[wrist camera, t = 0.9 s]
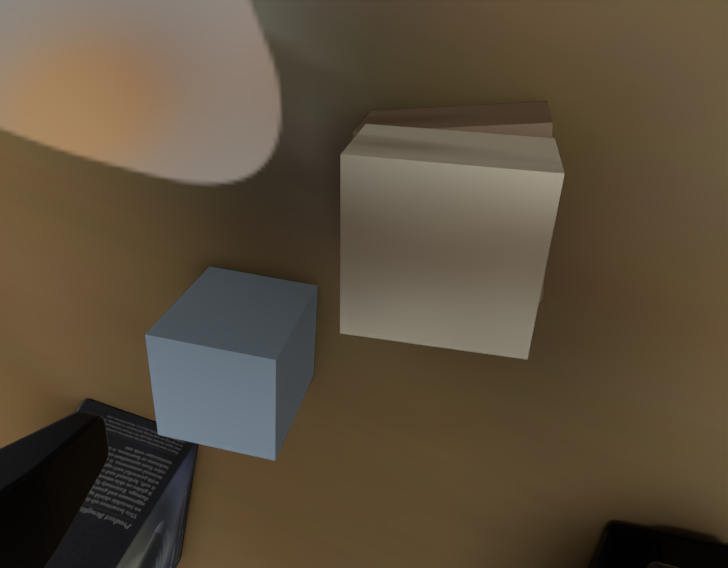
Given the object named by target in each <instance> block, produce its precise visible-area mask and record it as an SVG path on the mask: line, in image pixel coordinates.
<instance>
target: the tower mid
mask: <svg viewBox="0 0 728 568" xmlns="http://www.w3.org/2000/svg"><path fill="white" fill-rule="evenodd" d="M564 175H565V173H564V169H563V166H562V162H561V159H560V155H559V151H558V148H557V144H556V141H555V138H544V137H531V136H518V135H505V134H492V133H479V132H466V131H453V130H440V129H427V128H414V127H401V126H388V125H375V124H365V125H364V127H363V128H362V129H361V130H360V131H359V133H358V134H357V135H356V136H355V137H354V139H353V140H352V141H351V142H350V143H349V145H348V146H347V147H346V148H345V149H344V151H343V152H342V153H341V154H340V333H341V334H348V335H355V336H362V337H369V338H376V339H384V340H391V341H398V342H405V343H412V344H419V345H427V346H434V347H441V348H448V349H455V350H462V351H470V352H477V353H484V354H491V355H498V356H505V357H513V358H520V359H528V354H529V349H530V344H531V339H532V334H533V329H534V324H535V319H536V314H537V309H538V304H539V299H540V294H541V289H542V284H543V279H544V274H545V269H546V264H547V259H548V254H549V249H550V244H551V239H552V234H553V229H554V224H555V219H556V215H557V210H558V205H559V200H560V195H561V190H562V185H563V180H564Z"/></svg>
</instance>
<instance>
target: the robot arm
mask: <svg viewBox="0 0 728 568" xmlns="http://www.w3.org/2000/svg"><path fill="white" fill-rule="evenodd" d="M108 453H109V448H108V440H107V432H106V424H105V420H104V418H103V417H102V416H100V415H97V414H93V413H89V412H85V411H79V412H75V413H73V414H71V415H69V416H67V417H65V418H63V419H61V420H59V421H56V422H54V423H52V424H50V425H48V426H46V427H44V428H42V429H40V430H38V431H36V432H34V433H32V434H30V435H28V436H26V437H23V438H21V439H19V440H17V441H15V442H13V443H11V444H9V445H7V446H5V447H3V448H1V449H0V568H44V567H45V566H46V564H47V563H48V562H49V560H50V559H51V557H52V556H53V554H54V553H55V551H56V550H57V548H58V547H59V545H60V543H61V542H62V540H63V538H64V537H65V535H66V533H67V531H68V530H69V528H70V526H71V524H72V522H73V521H74V519H75V517H76V515H77V514H78V512H79V510H80V508H81V506H82V505H83V503H84V501H85V499H86V498H87V496H88V494H89V492H90V490H91V489H92V487H93V485H94V483H95V482H96V480H97V478H98V476H99V474H100V473H101V471H102V469H103V467H104V465H105V463H106V461H107V458H108ZM618 535H619V536H618ZM589 568H728V547H724V546H719V545H715V544H710V543H705V542H701V541H696V540H692V539H687V538H683V537H678V536H674V535H669V534H664V533H660V532H655V531H651V530H646V529H642V528H637V527H633V526H628V525H623V524H611V525H609V526H608V527H607V528H606V529H605V532H604V534H603V536H602V538H601V541H600V543H599V545H598V547H597V550H596V552H595V554H594V556H593V559H592V561H591V563H590V565H589Z"/></svg>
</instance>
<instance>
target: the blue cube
mask: <svg viewBox="0 0 728 568" xmlns="http://www.w3.org/2000/svg"><path fill="white" fill-rule="evenodd" d="M317 294H318V286H317V285H311V284H306V283H300V282H294V281H289V280H283V279H277V278H272V277H266V276H261V275H255V274H249V273H244V272H238V271H233V270H227V269H221V268H216V267H210V266H209V267H208V269H207V270H206V271H205V272H204V273H203V274H202V275H201V276H200V277H199V278H198V279H197V280H196V281H195V282H194V283H193V284H192V285H191V286H190V287H189V289H188V290H187V291H186V292H185V293H184V294H183V295H182V296H181V297H180V298H179V299H178V300H177V301H176V302H175V303H174V304H173V305H172V306H171V307H170V309H169V310H168V311H167V312H166V313H165V314H164V315H163V316H162V317H161V318H160V319H159V320H158V321H157V322H156V323H155V324H154V325H153V326H152V327H151V329H150V330H149V331H148V332H147V333H146V334H145V339H146V346H147V354H148V362H149V369H150V377H151V385H152V393H153V400H154V408H155V416H156V423H157V431H158V435H161V436H165V437H170V438H174V439H179V440H183V441H188V442H193V443H197V444H202V445H206V446H211V447H215V448H220V449H224V450H229V451H233V452H238V453H242V454H247V455H251V456H256V457H260V458H265V459H269V460H274V461H275V460H276V458H277V456H278V453H279V451H280V449H281V447H282V445H283V442H284V440H285V438H286V436H287V434H288V431H289V429H290V427H291V425H292V422H293V420H294V418H295V416H296V414H297V411H298V409H299V407H300V405H301V403H302V400H303V398H304V396H305V394H306V391H307V389H308V387H309V385H310V383H311V380H312V378H313V375H314V355H315V334H316V314H317Z"/></svg>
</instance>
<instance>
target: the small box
mask: <svg viewBox="0 0 728 568" xmlns="http://www.w3.org/2000/svg"><path fill="white" fill-rule="evenodd" d="M79 411H85V412H89V413H93V414H97V415H100V416H102V417H103V418H104V420H105V424H106V432H107V440H108V448H109V453H108V458H107V461H106V463H105V465H104V467H103V469H102V471H101V473H100V474H99V476H98V478H97V480H96V482H95V483H94V485H93V487H92V489H91V490H90V492H89V494H88V496H87V498H86V499H85V501H84V503H83V505H82V506H81V508H80V510H79V512H78V514H77V515H76V517H75V519H74V521H73V522H72V524H71V526H70V528H69V530H68V531H67V533H66V535H65V537H64V538H63V540H62V542H61V543H60V545H59V547H58V548H57V550H56V551H55V553H54V554H53V556H52V557H51V559H50V560H49V562H48V563H47V564H46V566H45V567H44V568H176V567H177V565H178V563H179V561H180V557H181V550H182V543H183V537H184V531H185V524H186V518H187V511H188V505H189V499H190V492H191V486H192V479H193V472H194V466H195V460H196V453H197V446H198V444H197V443H193V442H188V441H183V440H179V439H174V438H170V437H165V436H161V435H158V431H157V423H156V422H153V421H150V420H147V419H144V418H141V417H139V416H136V415H133V414H130V413H127V412H124V411H121V410H118V409H115V408H112V407H110V406H107V405H104V404H101V403H98V402H95V401H92V400H88V399H86V400H84V401H83V402H82V403H81V404H80V405H79V406H78V408H77V409H76V410H75V411H74V413H75V412H79Z"/></svg>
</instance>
